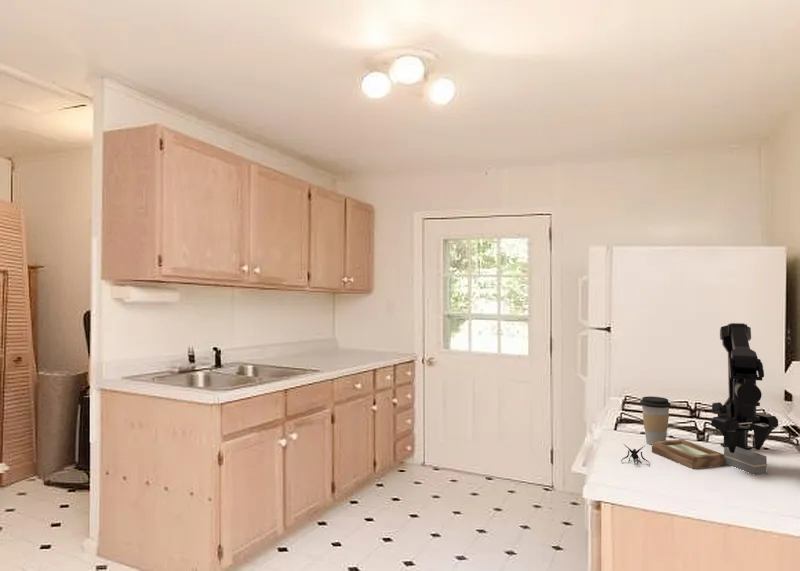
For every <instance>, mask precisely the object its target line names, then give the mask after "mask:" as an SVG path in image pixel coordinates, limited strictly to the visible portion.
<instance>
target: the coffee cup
mask: <svg viewBox="0 0 800 571" xmlns="http://www.w3.org/2000/svg"><path fill="white" fill-rule="evenodd" d="M641 399H642V400H640V402H639V404H640V405H641V407H642V408H641V409H642V420H643V421H642V422H643V428H644V433H645V434H644V435H645V442H646V444H648V445H651V446H653V442H657V441H667V432H668V425H669V417H670V414H669V413H670V408H671V406H672V405H671V402H669V399H668V398H666V397H661V396H650V395H649V396H643V397H642V398H641Z"/></svg>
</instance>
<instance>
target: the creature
mask: <svg viewBox="0 0 800 571" xmlns="http://www.w3.org/2000/svg"><path fill="white" fill-rule="evenodd" d="M624 446H625V448H627V449H628V452H627V455H626V456H625V457H622V459H621V461H620V462H621V463H623V460H625V459H628V462H630V460H631V458H632V460H633V462H634V464H636V465H637V466H639V462H641V458H642V459H643V461H646V462H647V463H648V467H650V466H651V462H649V460H647V459H646V457H644V456H643V451H641V450H642V449H644V448H645V445H643V446H642V447H641V448H638V450H637V449H636V448H633V450H632V449H631V448H630V447H628V446H627V445H626V444H624ZM639 452H640V457H641V458H640V457H639V455H638V454H639ZM636 462H637V463H636Z"/></svg>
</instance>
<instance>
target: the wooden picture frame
mask: <svg viewBox="0 0 800 571" xmlns="http://www.w3.org/2000/svg"><path fill="white" fill-rule="evenodd" d="M651 453H653V454H656V455H658V456H661V457H663V458H665V459H667V460H671V461H672V462H674V461H675V462H674V463H677V464H679V463H680V464H679V465H682V466H684V467H687V468H689V469H691V468H692V469H691V470H694V468H696V469H703V468H702V467H705V468H710V466H713V467H720V466H719V465H722V466H727V465H726V458H724V453H721V452H719V451H715V450H713V449H710V448H708V447H704V446H703V445H699V444H696V443H693V442H690V441H687V440H685V439H680V438H679V439H669V440H666V441H657V442H653V445H651Z"/></svg>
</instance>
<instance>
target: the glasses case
mask: <svg viewBox="0 0 800 571" xmlns="http://www.w3.org/2000/svg"><path fill="white" fill-rule="evenodd" d="M723 454H724V458H726V464H727V465H726V466H729V465H730V466H729V467H732V466H733V467H732V468H734V467H736V468H735V469H737V468H738V469H737V470H740V469H741V470H740V471H742V470H744V471H743V472H745V471H746V473H748V472H749V473H748V474H751V475H753V474H754V476H757V474H758V475H765V474H766V475H767V474H768V473H767V472H768V469H767V468H768V467H767V466H768V464H767V463H768V462H767V456H766V455H764V454H761V453H758V452H755V451H752V450H750V449H743V448H740V447H737V446H736V449H735V452H734V453H731V452H730V451H729V448H728V447H725V446H723Z"/></svg>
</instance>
